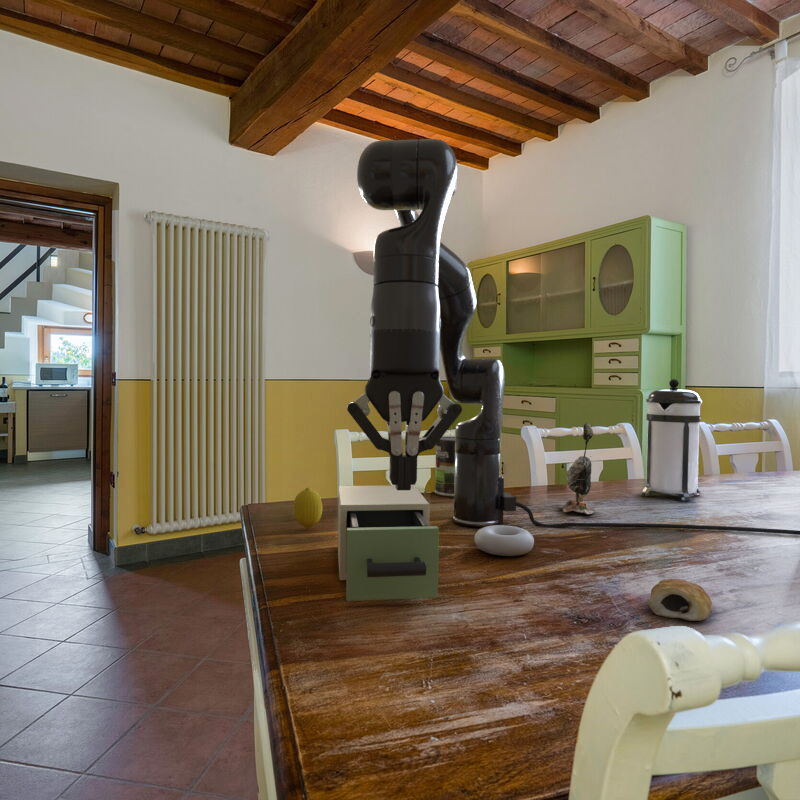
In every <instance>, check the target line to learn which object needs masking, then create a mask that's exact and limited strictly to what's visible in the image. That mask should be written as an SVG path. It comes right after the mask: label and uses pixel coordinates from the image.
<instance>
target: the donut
mask: <svg viewBox="0 0 800 800" xmlns="http://www.w3.org/2000/svg"><path fill="white" fill-rule="evenodd" d="M473 540H474V543H475V546H476V547H477V548H478V549H479V550H480V551H482V552H484V553H487V554H489V555H494V556H500V557H517V556H523V555H526V554H528V553H529V552H531V551H532V549H533V547H534V545H535V538H534V536H533V535H532V534H531V532H529V530H526V529H525V528H522V527H518V526H514V525H504V524H498V525H494V526H487V527H480V528H479V529H478V530H477V532H475V535H474V539H473Z"/></svg>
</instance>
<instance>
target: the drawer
mask: <svg viewBox="0 0 800 800" xmlns="http://www.w3.org/2000/svg"><path fill="white" fill-rule="evenodd" d="M439 542H440V528H439V527H438V526H437V525H430V524H429V525H428V524H427V522H426V521H425V519H424V518H423V516H422V515H421V514H420V512H419V511H418V510H381V511H349V528H347V564H346V580H345V581H346V584H345V592H346V593H345V600H346V602H354V601H355V602H357V601H384V600H385V601H386V600H410V599H411V600H413V599H435V598H436V599H437V598H438V597H439V556H440V555H439V553H440V552H439V550H440V549H439V547H440V546H439V544H440V543H439Z"/></svg>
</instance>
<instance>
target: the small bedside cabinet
mask: <svg viewBox="0 0 800 800" xmlns="http://www.w3.org/2000/svg"><path fill="white" fill-rule="evenodd" d="M337 487H338V496H337V498H338V501H337V505H338V506H337V508H338V509H337V558H338V573H339V581H346V564H347V528H349V511H381V510H418V511H419V512H420V514H421V515H422V516H423V518H424V519H425V521H426V522H427V524H428V525H429V526H430V503H429V501H427V499H426V498H425V496H423V495H422V493H421V492H420V491H419V489H418V488H417V487H416V486H415V485H411V490H397V489H396V487H395V485H392V484H391V485H390V484H389V485H338V486H337Z"/></svg>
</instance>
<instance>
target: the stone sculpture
mask: <svg viewBox="0 0 800 800" xmlns="http://www.w3.org/2000/svg"><path fill="white" fill-rule="evenodd" d="M582 429H583V430H582V431H583V432H582V433H583V434H582V438H583V440H584V441H585V447H584V448H585V449H584V452H583V455H580V456H578V458H576V459H575V460H574V462H573V463H572V464H571V465H570V466H569V469H568V471H567V473H566V482H567V486H568V488H569V489H570V490H571V491H572V492H574V493H575V500H574V499H568V500H566V502H565V504H562V505H560V506H559V507H558V508H559V509H561V510H562V512H563V513H568V512H572V511H574V512H576V513H580V514H585V515H593V514H594V513H595V512H596V510H595V508H592V507H590V506H588V504H587V502H586V501H584V499H585V498H586V497H587V496H588V494H589V493H590V490H591V488H592V482H591V480H592V476H591V475H592V461H591V459H590V458H591V457H592V455H591V456H589V457H590V458H589V457H587V456H586V453H587V447H588V443H589V442H590V440H591V439H592V438H593V437H594V430H593V429H592V425H590V423H589V422H586V423H584V424H583V428H582Z"/></svg>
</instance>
